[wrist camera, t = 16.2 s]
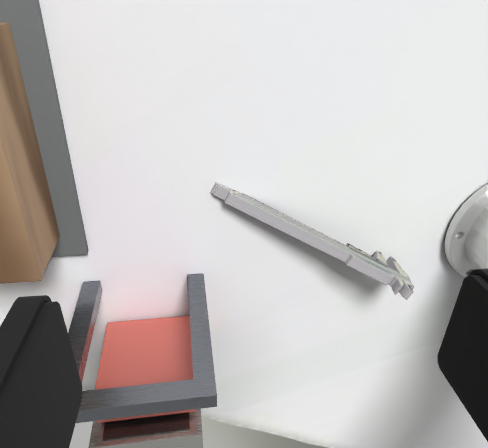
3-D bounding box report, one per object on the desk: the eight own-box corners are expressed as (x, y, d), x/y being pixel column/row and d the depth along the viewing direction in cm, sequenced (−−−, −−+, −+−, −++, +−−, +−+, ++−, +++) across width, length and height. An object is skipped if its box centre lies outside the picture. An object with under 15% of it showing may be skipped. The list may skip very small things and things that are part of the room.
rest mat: (36, -13, 26) (33, -13, 25) (88, 250, 36) (87, 254, 35) (-124, -17, 24) (-130, -17, 24) (-23, 257, 35) (-26, 261, 34)
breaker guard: (203, 273, 39) (216, 395, 28) (205, 354, 45) (217, 483, 33) (83, 281, 38) (44, 414, 26) (101, 364, 43) (75, 503, 32)
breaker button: (189, 315, 41) (193, 392, 34) (190, 333, 42) (194, 411, 35) (107, 322, 40) (92, 403, 32) (110, 340, 41) (97, 422, 34)
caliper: (393, 255, 42) (425, 295, 37) (386, 263, 42) (417, 304, 37) (215, 180, 35) (223, 216, 29) (209, 191, 35) (216, 228, 30)
